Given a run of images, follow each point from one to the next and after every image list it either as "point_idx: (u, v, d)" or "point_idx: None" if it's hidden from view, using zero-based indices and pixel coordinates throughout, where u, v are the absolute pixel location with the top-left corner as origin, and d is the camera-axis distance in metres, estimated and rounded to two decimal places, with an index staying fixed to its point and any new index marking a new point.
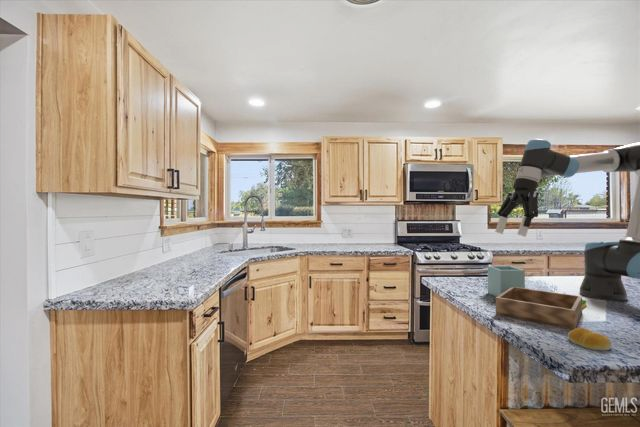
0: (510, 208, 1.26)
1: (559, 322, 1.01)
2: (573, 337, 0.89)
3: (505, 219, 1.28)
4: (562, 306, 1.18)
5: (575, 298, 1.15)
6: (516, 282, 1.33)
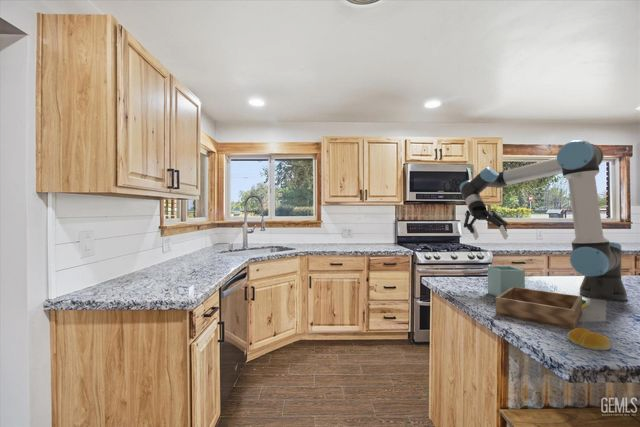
0: (492, 221, 1.55)
1: (559, 322, 1.01)
2: (572, 337, 0.89)
3: (501, 227, 1.52)
4: (562, 306, 1.18)
5: (575, 298, 1.15)
6: (516, 282, 1.33)
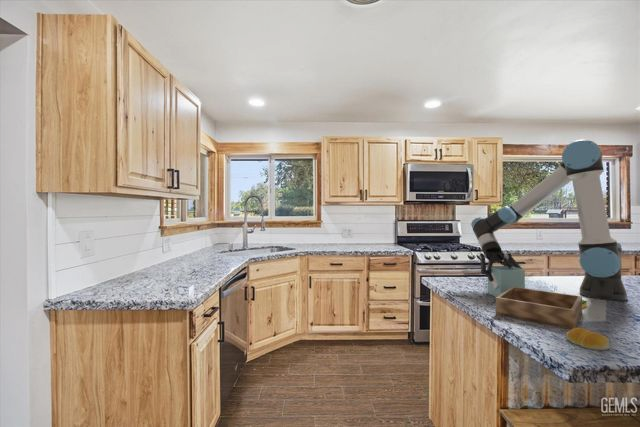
0: None
1: (559, 322, 1.01)
2: (571, 337, 0.89)
3: None
4: (562, 306, 1.18)
5: (575, 298, 1.15)
6: (516, 282, 1.33)
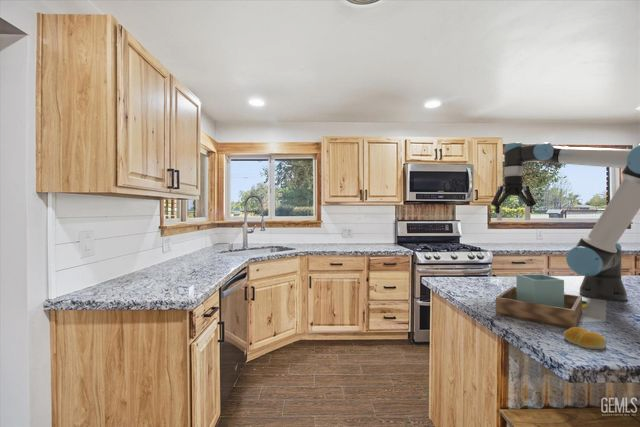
0: (522, 199, 1.55)
1: (559, 322, 1.01)
2: (568, 336, 0.90)
3: (527, 208, 1.54)
4: None
5: (575, 298, 1.15)
6: (554, 295, 1.09)
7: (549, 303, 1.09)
